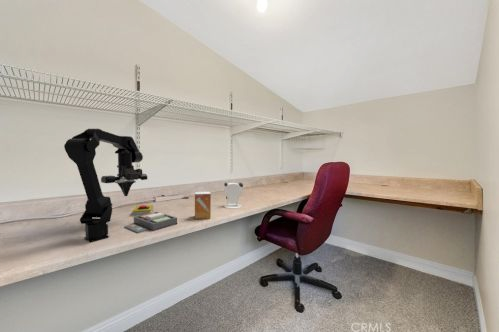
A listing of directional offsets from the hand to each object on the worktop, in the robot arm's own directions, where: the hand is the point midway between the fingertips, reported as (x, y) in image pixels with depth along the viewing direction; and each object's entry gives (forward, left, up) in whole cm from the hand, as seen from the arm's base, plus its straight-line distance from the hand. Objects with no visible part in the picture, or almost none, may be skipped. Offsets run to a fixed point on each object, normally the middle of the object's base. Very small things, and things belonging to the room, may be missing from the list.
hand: (125, 196), depth 106 cm
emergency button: (+15, +12, -14) cm, 23 cm away
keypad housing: (+8, -12, -13) cm, 19 cm away
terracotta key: (+8, -6, -12) cm, 16 cm away
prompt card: (-2, -12, -13) cm, 17 cm away
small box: (+29, -21, -13) cm, 38 cm away
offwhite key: (+8, -11, -11) cm, 18 cm away
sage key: (+8, -17, -12) cm, 22 cm away
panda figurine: (+57, -18, -13) cm, 61 cm away
